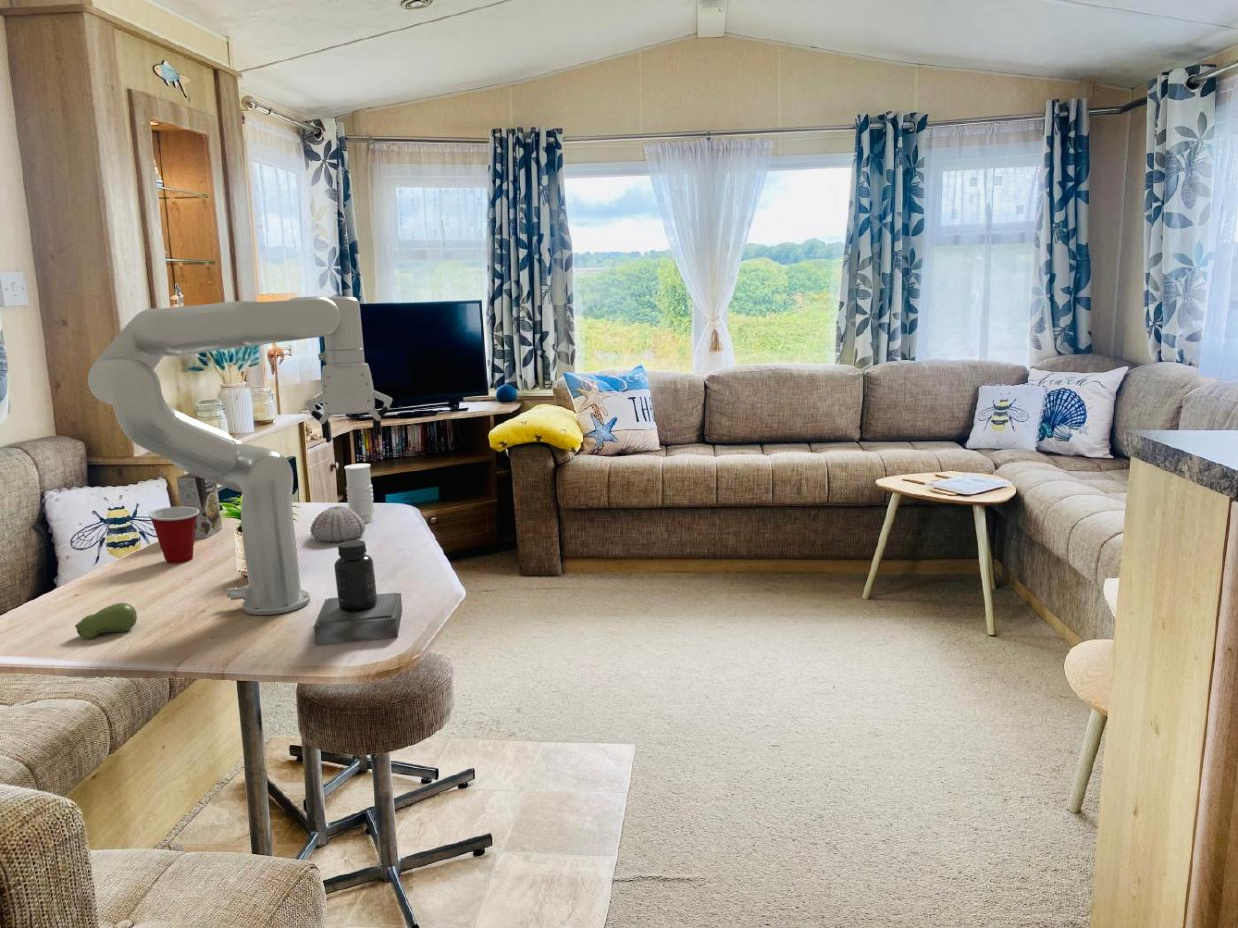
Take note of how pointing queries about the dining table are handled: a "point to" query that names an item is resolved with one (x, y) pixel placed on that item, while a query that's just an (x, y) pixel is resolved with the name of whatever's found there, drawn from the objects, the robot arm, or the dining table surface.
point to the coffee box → (201, 503)
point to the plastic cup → (175, 532)
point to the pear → (107, 621)
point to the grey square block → (359, 621)
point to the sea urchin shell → (337, 525)
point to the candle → (360, 490)
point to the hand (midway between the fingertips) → (352, 440)
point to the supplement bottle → (355, 577)
